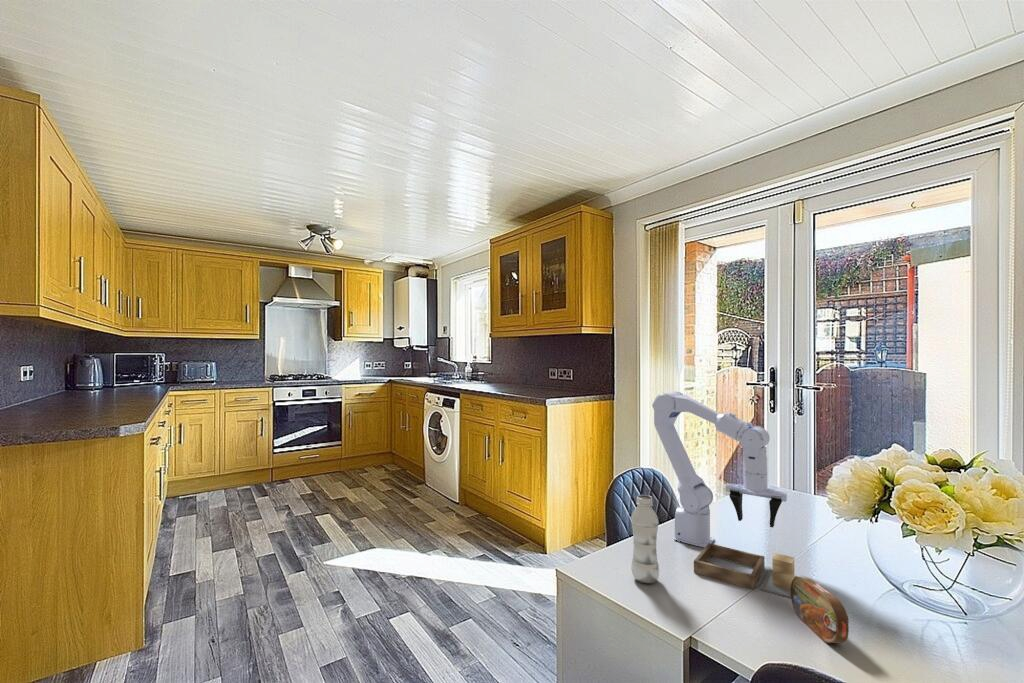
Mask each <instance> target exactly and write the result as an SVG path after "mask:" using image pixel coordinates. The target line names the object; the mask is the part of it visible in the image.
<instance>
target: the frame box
mask: <svg viewBox="0 0 1024 683" xmlns="http://www.w3.org/2000/svg"><path fill="white" fill-rule="evenodd" d="M710 556H711V557H713V556H714V558H718V559H721V560H726V561H730V562H733V563H737V564H742V565H744V566H745V565H746V566H750V567H752V568H753V569H752V572H751V573H747V572H743V571H740V570H736V569H732V568H728V567H725V566H720V565H716V564H714V563H710V562H708V561H709V559H710V558H711V557H710ZM707 560H708V561H707ZM765 564H766V563H765V556H764V555H759V554H755V553H752V552H748V551H747V552H746V551H744V550H738V549H736V548H735V549H734V548H731V547H727V546H723V545H722V546H721V545H718V544H714V543H711V544H710V543H708V545H707V546H706V547H705V548H704V547H703V549H702V550H701V552H700V553H699V554H698V555H697V557H695V559H693V573H694V572H695V573H694V574H697V573H698V574H697V575H700V574H702V576H705V577H707V576H708V578H711V579H715V580H718V581H721V582H725V583H728V584H732V585H736V586H739V587H744V588H747V589H751V590H753V591H755V589H756V587H757V585H758V583H759V580H760V578H761V577H762V574H763V572H764V571H765Z"/></svg>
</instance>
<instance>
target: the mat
mask: <svg viewBox="0 0 1024 683" xmlns="http://www.w3.org/2000/svg"><path fill="white" fill-rule="evenodd" d="M794 577H799V576H797V575H794ZM800 577H801V578H803V577H802V576H800ZM760 591H763V592H767V593H770V594H774V595H778V596H781V597H784V598H788V599H791V595H790V589H788V588H784V587H780V586H776V585H773V569H768V571H767V573H766V575H765V578H764V580H763V582H762V584H761V587H760Z"/></svg>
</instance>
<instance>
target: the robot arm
mask: <svg viewBox="0 0 1024 683" xmlns="http://www.w3.org/2000/svg"><path fill="white" fill-rule="evenodd" d="M651 407H652V409H653V410H654V411H653V412H654V413H653V414H654V416H653V424H654V425H653V426H654V428H655V430H656V432H657V434H658V437H659V439H660V442H661V443H662V447H663V448H664V450H665V453H666V455H667V457H668V458H669V461H670V463H671V467H672V468H673V470H674V473H675V475H676V477H677V480H678V485H677V491H678V494H679V503H680V506H677V508H676V510H675V513H674V538H673V540H674V541H676V540H677V542H680V541H681V543H684V544H687V545H688V544H689V545H693V546H696V547H701V548H703V549H704V548H705V547H706V546H707V545H708V543H710V544H713V543H714V541H715V537H711V510H710V505H711V504H712V502H713V501H714V493H713V492H712V490H711V488H709V487H708V485H707V484H706V483H705V480H704V479H703V478H702V477H700V476H699V475H698V474H697V473H696V470H695V469H694V466H693V464H692V462H691V459H690V458H689V455H688V453H687V451H686V449H685V447H684V445H683V442H682V440H681V439H680V436H679V433H678V431H677V429H676V427H675V422H677V418H678V416H679V415H680V414H681V413H690V414H692V415H695V416H697V417H699V418H701V419H703V420H705V421H708V422H709V423H711V424H714V427H715V428H716V431H718V432H720V433H721V434H724V435H726V436H727V437H729V438H731V439H732V440H735V441H737V442H739V443H740V445H741V446H742V448H743V450H742V451H743V455H742V457H743V459H742V460H743V474H742V475H743V484H741V483H740V484H738V483H728V482H727V483H726V484H725V492H727V493H729V498H730V501H731V502H732V505H733V506H734V509H735V512H736V515H737V521H738V522H741V521H743V518H744V514H743V495H748V496H754V497H759V498H767V499H770V500H769V513H770V515H769V527H770V528H774V526H775V523H776V522H775V521H776V517H777V514H778V511H779V509H780V507H781V504H783V503H782V502H784V503H785V502H787V501H788V493H787V492H785V491H781V490H776V489H771V488H768V454H767V451H768V450H767V445H768V444H769V442H770V434H769V432H768V431H767V430H766V429H765V428H763V427H762V426H760V425H753V422H751V421H745V420H742V419H741V418H738V417H737V415H736V413H733V412H730V413H728V412H722V413H719V412H717V411H716V410H713V409H712V408H710V407H708V406H707V405H705V404H703V403H702V402H699V401H697V400H696V399H694V398H693V397H691V396H690V395H688V394H683V393H682V392H680V391H673V392H666V393H665V392H663V393H662V392H661V393H659V394H657V395H656V397H655V398H654V401H653V402H652V405H651Z"/></svg>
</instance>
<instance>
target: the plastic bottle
mask: <svg viewBox="0 0 1024 683" xmlns="http://www.w3.org/2000/svg"><path fill="white" fill-rule="evenodd" d="M635 502H636V503H635V505H637V506H636V507H635V508H634V510H633V511H632V513H631V516H630V522H631V528H632V535H633V536H632V538H633V549H632V551H633V553H632V560H631V565H630V566H631V568H630V569H631V574H632V576H633V578H634V579H635V580H636V581H638V582H640V583H643V584H654V583H656V582H657V580H659V577H660V566H659V565H660V564H659V562H658V553H657V540H658V539H657V536H658V528H659V517H658V515H657V512H656V511H655V510H654V509H653V506H654V503H653V497H652V496H651V495H647V494H639V495H637V496H636V501H635Z"/></svg>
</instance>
